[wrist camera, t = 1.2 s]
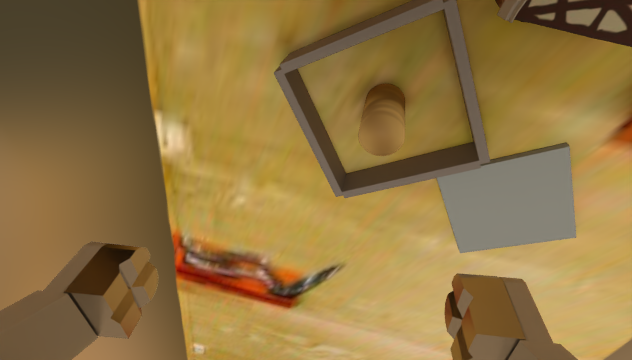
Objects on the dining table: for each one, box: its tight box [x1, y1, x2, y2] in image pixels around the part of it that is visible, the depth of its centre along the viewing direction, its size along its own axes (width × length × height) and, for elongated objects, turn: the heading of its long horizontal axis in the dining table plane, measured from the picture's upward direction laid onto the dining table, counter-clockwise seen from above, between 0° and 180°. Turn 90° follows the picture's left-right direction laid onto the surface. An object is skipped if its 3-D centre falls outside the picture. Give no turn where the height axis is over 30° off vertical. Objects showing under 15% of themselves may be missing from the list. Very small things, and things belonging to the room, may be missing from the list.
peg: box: [358, 84, 405, 156], centre depth 37 cm, size 4×4×8 cm
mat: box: [437, 143, 576, 253], centre depth 44 cm, size 14×14×1 cm
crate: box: [274, 0, 490, 198], centre depth 38 cm, size 18×18×4 cm
